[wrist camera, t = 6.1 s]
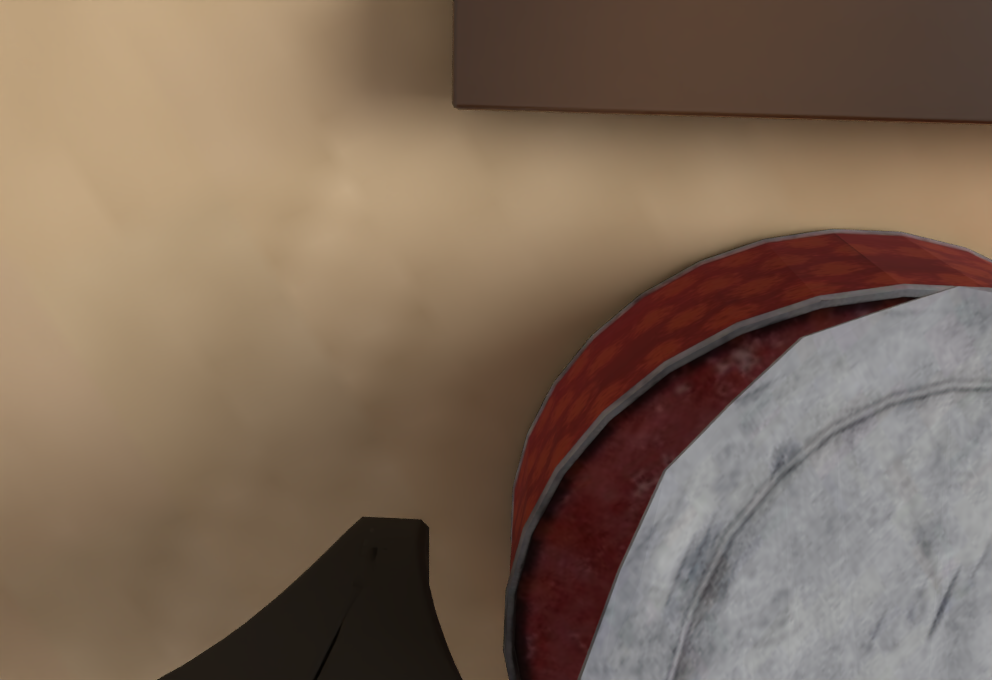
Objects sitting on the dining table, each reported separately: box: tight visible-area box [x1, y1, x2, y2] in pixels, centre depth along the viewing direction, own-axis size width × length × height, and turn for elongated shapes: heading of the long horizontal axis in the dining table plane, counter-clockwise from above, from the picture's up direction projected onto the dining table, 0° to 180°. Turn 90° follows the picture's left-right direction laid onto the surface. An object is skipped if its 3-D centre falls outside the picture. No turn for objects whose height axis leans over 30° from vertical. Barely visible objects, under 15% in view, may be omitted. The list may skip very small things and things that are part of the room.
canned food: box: [503, 229, 992, 680], centre depth 12 cm, size 11×10×10 cm
